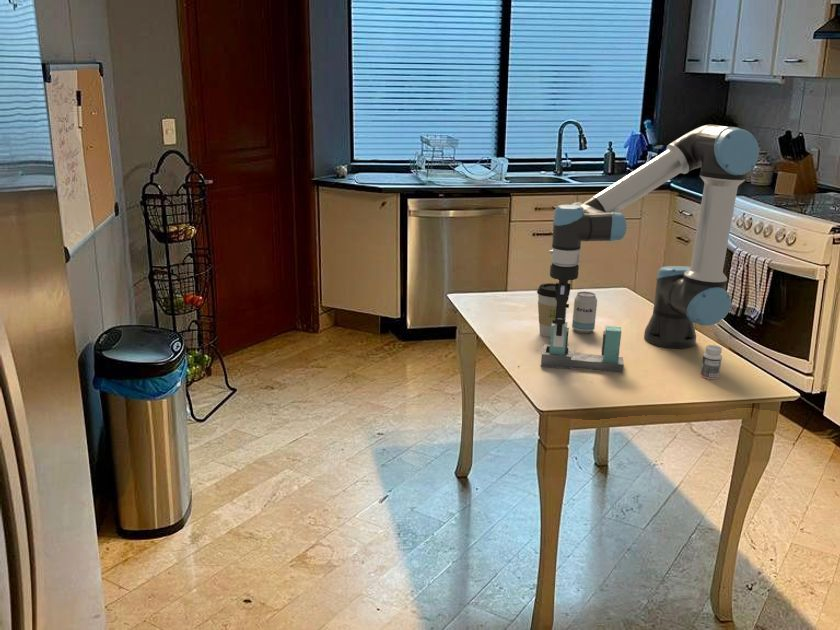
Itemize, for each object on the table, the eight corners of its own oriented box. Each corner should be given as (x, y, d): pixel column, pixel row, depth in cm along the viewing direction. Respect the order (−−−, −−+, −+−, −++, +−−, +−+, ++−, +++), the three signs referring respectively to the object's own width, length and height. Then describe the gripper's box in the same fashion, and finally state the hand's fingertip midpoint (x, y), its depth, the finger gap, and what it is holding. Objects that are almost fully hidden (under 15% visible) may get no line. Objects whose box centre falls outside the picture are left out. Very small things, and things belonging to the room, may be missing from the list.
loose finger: (566, 353, 222) (569, 322, 220) (566, 358, 218) (569, 327, 216) (549, 351, 223) (552, 320, 221) (548, 356, 219) (551, 325, 217)
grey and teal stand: (621, 364, 222) (626, 325, 219) (622, 374, 215) (627, 334, 211) (542, 356, 226) (545, 318, 223) (540, 366, 219) (544, 326, 215)
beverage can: (571, 333, 247) (574, 295, 243) (572, 326, 253) (575, 290, 250) (593, 335, 245) (597, 298, 242) (594, 328, 252) (598, 292, 248)
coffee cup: (565, 340, 240) (569, 292, 236) (532, 337, 242) (536, 289, 237) (566, 330, 249) (570, 284, 245) (534, 327, 251) (538, 281, 247)
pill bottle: (704, 371, 218) (708, 343, 216) (721, 376, 215) (725, 347, 213) (697, 376, 215) (701, 347, 212) (715, 381, 212) (719, 351, 209)
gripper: (552, 252, 225) (547, 323, 232) (548, 273, 202) (542, 352, 209) (579, 253, 224) (573, 325, 230) (578, 275, 201) (571, 354, 207)
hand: (558, 338), depth 220 cm, fingers open, 13 cm apart
